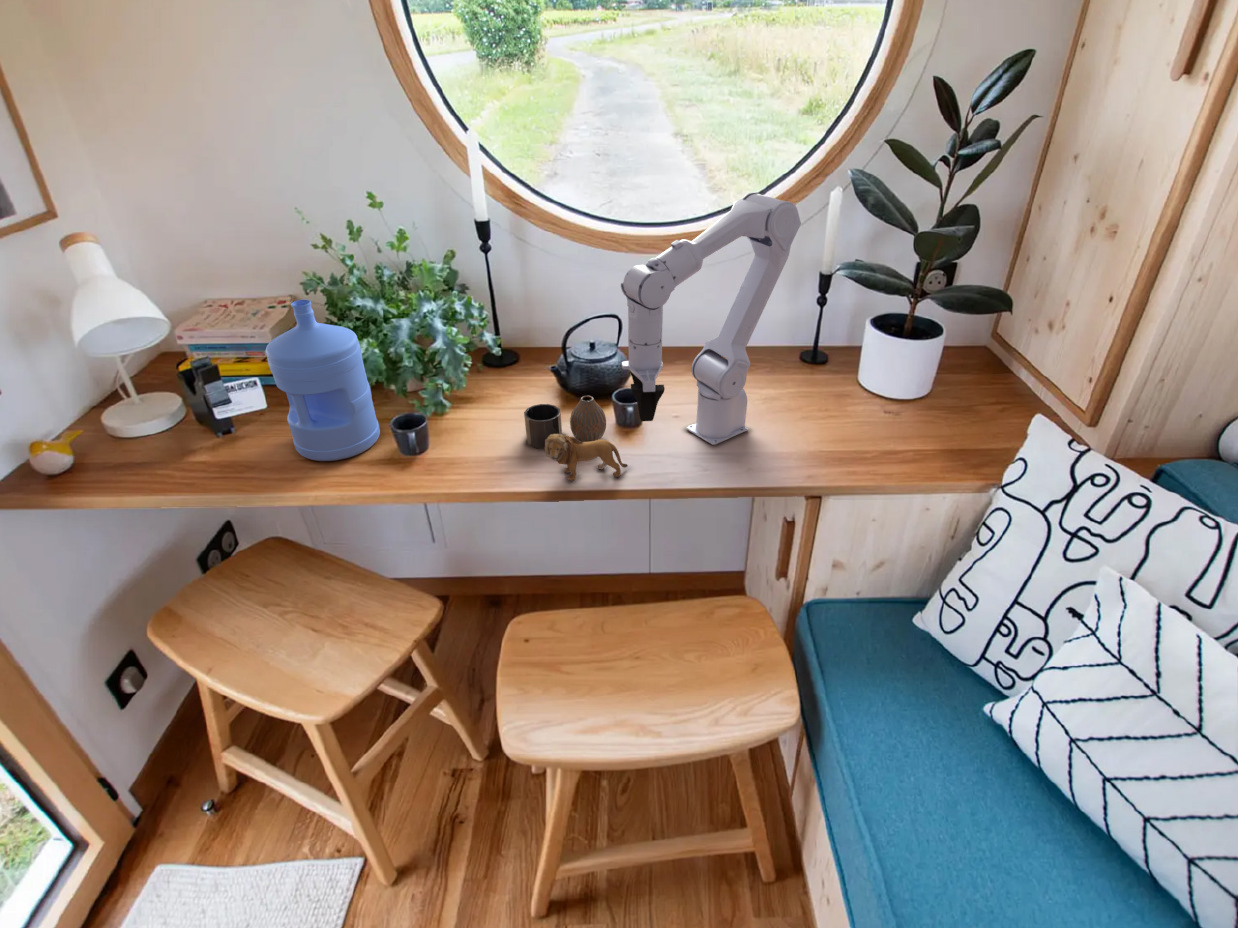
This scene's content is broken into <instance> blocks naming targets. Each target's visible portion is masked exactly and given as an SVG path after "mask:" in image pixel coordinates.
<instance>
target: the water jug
mask: <svg viewBox="0 0 1238 928" xmlns="http://www.w3.org/2000/svg"><path fill="white" fill-rule="evenodd" d="M290 306H291V307H292V309H293V316H294V317H295V322H296V326H294V327H292V328H291V329H288V330H286V331H285V332H283V333H281V334H279V335H278V336H276V337H274V338H272V339H271V340H270V341H269V343H268V344H267V345H266V348H265V354H266V359H267V364H268V367H269V371H270V372H271V374H272V376H273V380H274V383H275V386H276V387H277V388H278V389H279V390H280V391H282V392H284V393H285V394H286V397H287V401H288V404H289V411H288V414H287V417H286V419H287V423H288V427H289V429H290V432H291V437H292V442H293V445H294V448H295V451H296V452H297V453H298V454H299V455H300V456H302V457H303V458H305V459H308V460H311V461H318V462H333V461H340V460H345V459H349V458H352V457H355V456H358V455H360V454H362V453H364V452H365V451H367V450H369V449H370V448H371V447H373V446H374V445H375V444H376V442H377V441H378V440H379V438H380V434H381V428H380V423H379V421H378V419H377V415H376V411H375V407H374V406H375V405H374V402H373V398H372V397H373V396H372V390H371V386H370V383H369V381H368V377H367V372H366V369H365V365H364V359H363V352H362V348H361V344H360V342H359V340H358V336H357V334H356V333H355V331H353V330H352V329H350V328H348V327H344V326H340V325H335V324H327V323H321V322H318V321H316V318H315V312H314V309H313V308H312V301H311V300H310V299H298V300H294V301H292V302H291V304H290Z"/></svg>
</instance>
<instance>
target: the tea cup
mask: <svg viewBox="0 0 1238 928" xmlns="http://www.w3.org/2000/svg"><path fill="white" fill-rule="evenodd" d="M561 415H562V414H561V408H560V407H558V406H556V405H554V404H550V403H538V404H534V405H531V406H529V407H527V408H526V409H525V410H524V411H523V416H524V417H523V418H524V427H525V437H526V442H527V444H528V445H529V446H530V447H532V448H535V449H538V450H539V449H542V450H545V440H546V439H547V438H548V436H550V435H551V434H552V435H553V434H557V433H558V434H563V428H562V416H561Z"/></svg>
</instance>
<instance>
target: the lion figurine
mask: <svg viewBox="0 0 1238 928" xmlns="http://www.w3.org/2000/svg"><path fill="white" fill-rule="evenodd" d="M613 453H614V454H613ZM544 454H545V455H546V456H547V457H548V458H549V459H550V460H552V461H553V462H557V464H558V465H566V467H565V468H564V471H563V472H564V473H566V474H568V473H570V475H568V477H567V478H568V480H569V481H571V482H572V481H574V480H576V478H577V466H578V463H579V462H581V463H582V462H590V461H593V460H595V459H597V458H600V460H601V461H602V463H599V464H598V465H597V469H598V470H603V469H605V468H606V467H607V466H608V467H610V468H612V469H613V470H615V471H614V472H612V476H614V477H615V478H619V477H620V476H621V474H622V472H621V468H627V467H629V465H628V464H627V463H623V462H622V459H621V455H620V453H619V450H618V448H617V447H616V445H615V444H613V443H612V442H610V440H606V439H603V438H600V439H599V440H596V441H590V442H580V441H579V440H577V439H576V438H575V437H574V436H570V435H566V434H563V433H562V434H558V433H557V434H553V435H552V434H551V435H550V436H548V438H547V439H546V440H545V449H544ZM614 455H615V457H616V460H617V461H618V462H617V461H616V460H615V458H614Z"/></svg>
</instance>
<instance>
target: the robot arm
mask: <svg viewBox="0 0 1238 928" xmlns="http://www.w3.org/2000/svg"><path fill="white" fill-rule="evenodd" d="M801 225H802V222H801V217H800V214H799V210H798V207H797V206H796V204H794V203H793V202H791V201H788V200H781V199H779V198H776V197H775V198H774V197H772V196H768V195H764V194H761V193H759V192H756V191H751V192H748V193H746V194H745V195H743V197H741V198H739V199H737V200H735V201H734V202H733V205H732V207H731V209H730V210H728V212H727V213H725V214H724V215H723V216H722V217H720V218H719V219H718V220H716V221H715V222H714V223H712V225H710V226H709V227H708V228H706V229H705V230H704V231H702V232H701V233H700V234H699V235H698V236H697V237H695V238H694V239H692V240H688V239H681V240H678V239H676V240H674V241H673V242H671V243H670V247H669V248H667V249H666V250H665V251H662V252H661V253H660V254H658V255H657V256H656V257H651V258H649V259H648V260H647V263H645V264H637V265H634V266H632V267H631V268H629V270H627V272H626V273H625V275H624V278H623V281H622V282H621V283H620V288H621V292H622V294H623V296H625V297H626V301H627V303H626V305H627V310H628V311H627V326H628V327H627V330H628V334H627V337H628V338H627V339H628V340H627V341H628V342H627V343H628V344H627V345H628V350H627V351H628V359H627V360H623V361H621V369H622V370H628V371H629V373H630V376H631V379H632V382H633V383H631V384H630V390H631V393H632V395H633V397H634V398H635V401H636V403H637V408H638V414H639V419H640V422H653V421H654V418H655V415H656V411H657V407H658V404H659V402H660V399H661V398H662V396H663V395H664V393H665V388H666V387H665V384H656V381H657V379H658V377H659V375H660V373H661V372H662V370H663V368H664V367H663V366H664V362H663V325H664V324H663V323H664V321H663V319H664V305H665V304H667V302H668V300H669V298H670V296H671V294H672V292H674V291H675V288H676V287H678V286H680V285H681V284H682V283H684V282H685V281H687V280H688V279H689V278H691V277H692V276H694V275H695V274H696V273H698V272H700V271H701V269H702V267H703V264H704V263H703V262H704V259H707V257H710V256H711V255H712V254H715V253H716V252H718V251H719V250H721V249H723V248H724V247H726V246H728V245H729V244H731V243H733V242H734V241H736V240H738V239H740V238H741V237H745V238H747V239H748V241H749V243H750V244H751V247H752V250H753V253H754V257H753V259H752V260H751V263H750V265H749V268H748V269H747V272H746V274H745V277H744V278H743V281H742V283H741V286H740V288H739V290H738V292H737V294H736V296H735V299H734V300H733V303H732V305H731V307H730V309H729V312H728V314H727V315H726V318H725V320H724V323H723V325H722V327H721V330H720V331H719V333H718V336H717V337H715V338H712V339H710V340H708V341H706V342H705V343H704V345H703V348H702V349H701V351H700V352H699V353H698V354H697V355H696V356H695V358H694V359H693V361H692V364H691V368H690V371H691V375H692V377H693V378H694V379H695V380H696V387H697V401H696V402H697V403H696V404H697V405H696V418H695V419H696V421H695V423H693V424H690V425H687V426H686V430H687V431H689V432H691V433H692V434H694V435H695V436H696V437H698V438H700V439H702V440H704V441H705V442H707V443H709V444H710V445H713V446H717V445H718V444H720V443H722V442H724V441H727V440H729V439H731V438H733V437H736V436H738V435H741V434H743V433H745V432H747V431H748V430H749V427H747V426H746V419H747V410H748V396H747V392H746V391H745V386H746V382H747V376H748V372H749V369H750V366H751V361H750V358H749V355H748V352H747V350H746V348H747V346H748V344H749V342H750V340H751V338H752V335H753V333H754V331H755V330H756V328H757V325H758V323H759V320H760V318H761V316H762V314H763V312H764V310H765V308H766V305H767V303H768V301H769V299H770V297H771V295H772V294H773V291H774V288H775V287H776V284H777V282H778V280H779V279H780V276H781V274H782V271H783V269H784V267H785V265H786V263H787V262H788V259H789V256H790V253H791V247H792V245H793V242H794V239H795V237H796V235H797V233H798V231H799V229H800V226H801Z"/></svg>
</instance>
